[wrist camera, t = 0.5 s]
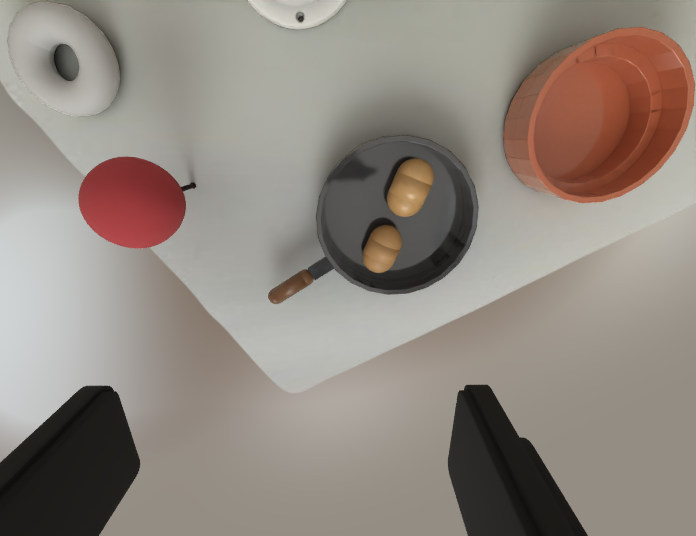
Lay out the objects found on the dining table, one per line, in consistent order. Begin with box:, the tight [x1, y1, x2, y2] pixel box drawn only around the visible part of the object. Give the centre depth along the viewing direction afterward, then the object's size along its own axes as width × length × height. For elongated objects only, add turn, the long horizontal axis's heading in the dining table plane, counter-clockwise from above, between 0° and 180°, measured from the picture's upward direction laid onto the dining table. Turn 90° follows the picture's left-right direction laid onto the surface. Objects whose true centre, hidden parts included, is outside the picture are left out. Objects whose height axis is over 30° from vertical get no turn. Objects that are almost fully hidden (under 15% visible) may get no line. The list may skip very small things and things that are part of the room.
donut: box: [7, 1, 120, 117], centre depth 33 cm, size 10×4×10 cm
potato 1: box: [362, 225, 402, 273], centre depth 40 cm, size 6×4×4 cm, turn 159°
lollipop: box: [79, 157, 196, 248], centre depth 32 cm, size 8×8×15 cm
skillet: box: [316, 135, 478, 295], centre depth 39 cm, size 18×18×4 cm
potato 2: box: [387, 158, 434, 217], centre depth 37 cm, size 7×4×4 cm, turn 158°
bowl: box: [503, 27, 695, 203], centre depth 34 cm, size 15×15×6 cm
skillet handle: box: [268, 257, 334, 304], centre depth 40 cm, size 10×2×2 cm, turn 124°
